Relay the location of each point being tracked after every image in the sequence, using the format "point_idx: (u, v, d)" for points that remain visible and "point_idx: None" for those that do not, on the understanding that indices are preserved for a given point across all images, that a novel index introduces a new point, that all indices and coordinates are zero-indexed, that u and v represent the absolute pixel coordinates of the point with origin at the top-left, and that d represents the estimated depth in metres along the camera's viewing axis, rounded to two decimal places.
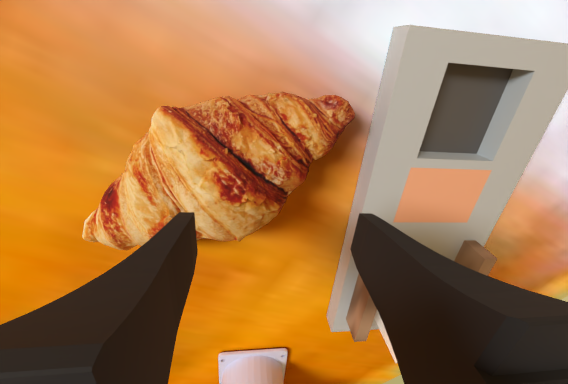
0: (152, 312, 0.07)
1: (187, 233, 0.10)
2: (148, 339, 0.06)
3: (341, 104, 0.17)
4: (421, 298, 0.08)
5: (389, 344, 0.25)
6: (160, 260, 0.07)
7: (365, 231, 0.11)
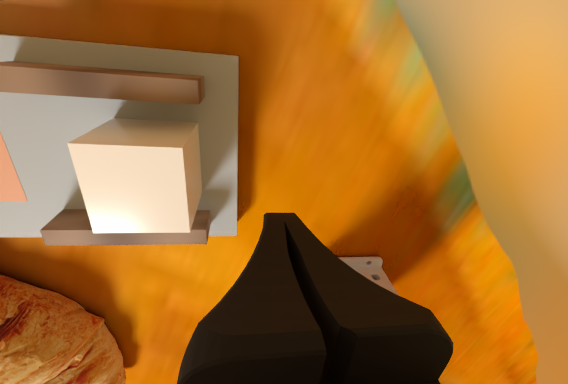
0: None
1: None
2: None
3: None
4: None
5: None
6: (286, 258, 0.08)
7: None
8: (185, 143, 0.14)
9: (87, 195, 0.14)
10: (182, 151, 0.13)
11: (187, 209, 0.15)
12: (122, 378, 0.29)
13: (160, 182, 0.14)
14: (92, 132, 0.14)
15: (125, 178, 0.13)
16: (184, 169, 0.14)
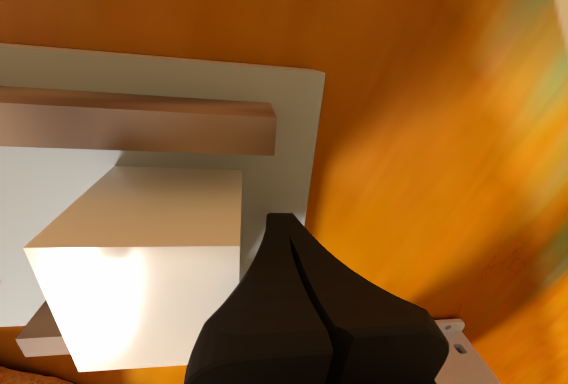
0: None
1: None
2: None
3: None
4: None
5: None
6: (289, 257, 0.08)
7: None
8: (240, 229, 0.08)
9: (66, 323, 0.08)
10: (238, 250, 0.07)
11: None
12: None
13: (195, 298, 0.08)
14: (76, 207, 0.08)
15: (133, 295, 0.07)
16: (238, 276, 0.08)
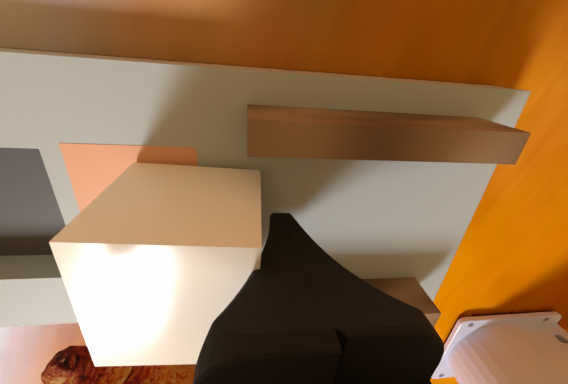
0: None
1: None
2: None
3: (44, 382, 0.15)
4: None
5: None
6: (294, 257, 0.08)
7: None
8: (261, 230, 0.08)
9: (85, 318, 0.08)
10: (260, 252, 0.07)
11: None
12: None
13: (214, 299, 0.08)
14: (99, 203, 0.08)
15: (153, 293, 0.07)
16: None
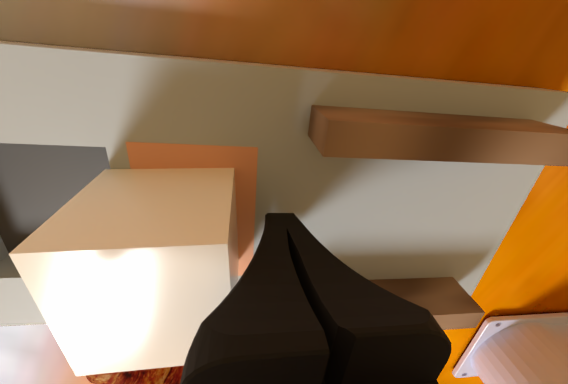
0: None
1: None
2: None
3: (90, 379, 0.15)
4: None
5: None
6: (287, 258, 0.08)
7: None
8: (228, 227, 0.08)
9: (59, 328, 0.08)
10: (227, 248, 0.07)
11: None
12: None
13: (186, 299, 0.08)
14: (64, 212, 0.08)
15: (124, 298, 0.07)
16: (229, 274, 0.08)
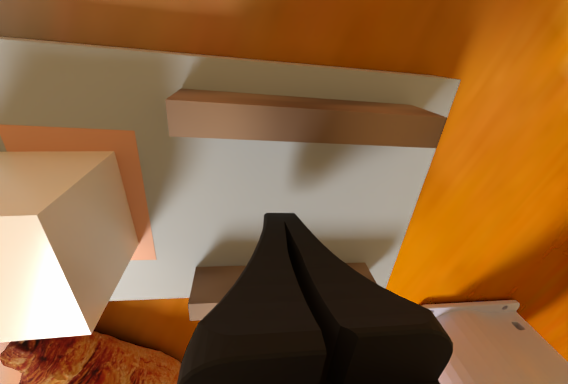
0: None
1: None
2: None
3: (4, 362, 0.15)
4: (306, 303, 0.08)
5: None
6: (286, 258, 0.08)
7: None
8: (55, 201, 0.08)
9: None
10: (40, 220, 0.07)
11: (77, 304, 0.09)
12: None
13: (15, 270, 0.08)
14: None
15: None
16: (54, 247, 0.08)
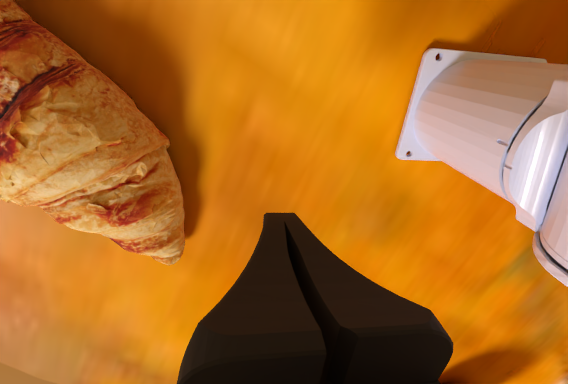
0: None
1: None
2: None
3: None
4: None
5: None
6: (286, 258, 0.08)
7: None
8: None
9: None
10: None
11: None
12: (183, 238, 0.22)
13: None
14: None
15: None
16: None
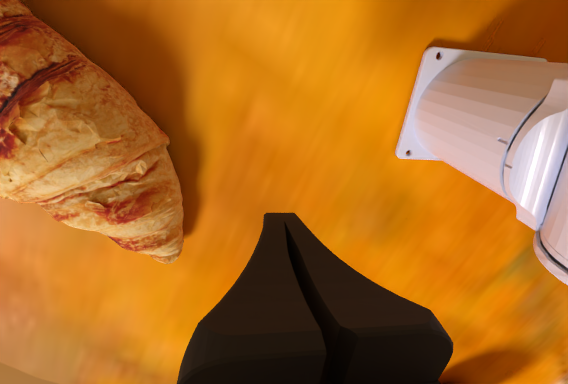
0: None
1: None
2: None
3: None
4: None
5: None
6: (286, 258, 0.08)
7: None
8: None
9: None
10: None
11: None
12: (182, 237, 0.22)
13: None
14: None
15: None
16: None
